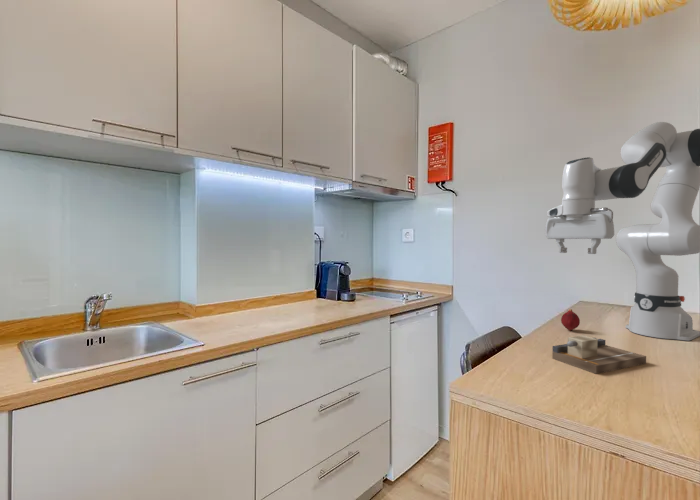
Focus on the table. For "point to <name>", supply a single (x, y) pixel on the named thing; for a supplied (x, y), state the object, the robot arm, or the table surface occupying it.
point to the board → (599, 358)
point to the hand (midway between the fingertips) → (577, 253)
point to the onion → (570, 320)
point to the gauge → (582, 346)
